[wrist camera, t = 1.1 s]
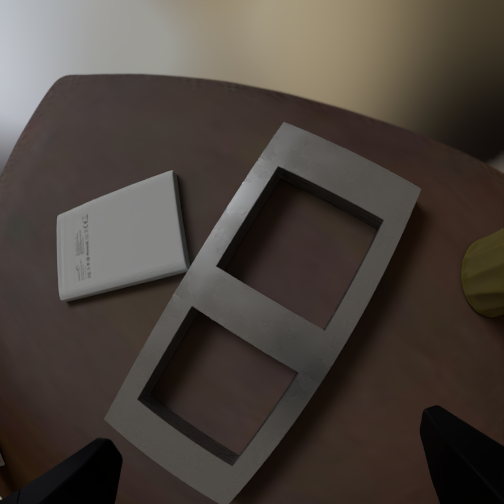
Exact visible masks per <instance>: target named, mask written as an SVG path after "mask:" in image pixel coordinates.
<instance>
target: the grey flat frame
mask: <svg viewBox="0 0 504 504" xmlns="http://www.w3.org/2000/svg"><path fill="white" fill-rule="evenodd" d="M280 179H283V180H285V181H287V182H289V183H291V184H293V185H295V186H297V187H299V188H301V189H303V190H305V191H307V192H309V193H311V194H313V195H315V196H317V197H319V198H321V199H323V200H325V201H327V202H329V203H331V204H333V205H335V206H337V207H339V208H340V209H342V210H344V211H346V212H348V213H350V214H352V215H354V216H355V217H357V218H359V219H361V220H363V221H365V222H366V223H368V224H370V225H372V226H374V227H375V228H377V229H378V230H377V232H376V234H375V236H374V238H373V240H372V242H371V244H370V246H369V248H368V250H367V252H366V254H365V256H364V258H363V259H362V261H361V263H360V265H359V267H358V269H357V271H356V273H355V275H354V277H353V278H352V280H351V282H350V284H349V286H348V288H347V289H346V291H345V293H344V295H343V297H342V299H341V300H340V302H339V304H338V306H337V307H336V309H335V311H334V313H333V314H332V316H331V318H330V320H329V321H328V323H327V325H326V326H325V328H324V330H323V329H321V328H319V327H317V326H316V325H314V324H312V323H310V322H309V321H307V320H305V319H304V318H302V317H300V316H298V315H297V314H295V313H293V312H291V311H290V310H288V309H286V308H285V307H283V306H281V305H280V304H278V303H276V302H274V301H273V300H271V299H269V298H268V297H266V296H264V295H263V294H261V293H259V292H258V291H256V290H254V289H253V288H251V287H249V286H248V285H246V284H244V283H243V282H241V281H239V280H238V279H236V278H234V277H233V276H231V275H229V274H228V273H226V272H224V270H225V268H226V266H227V265H228V263H229V262H230V260H231V258H232V257H233V255H234V253H235V252H236V250H237V248H238V247H239V245H240V244H241V242H242V240H243V239H244V237H245V235H246V234H247V232H248V231H249V229H250V227H251V226H252V224H253V222H254V221H255V219H256V218H257V216H258V214H259V213H260V211H261V209H262V208H263V206H264V205H265V203H266V201H267V200H268V198H269V197H270V195H271V193H272V192H273V190H274V188H275V187H276V185H277V184H278V182H279V180H280ZM420 191H421V188H419V187H417V186H416V185H414V184H412V183H410V182H409V181H407V180H405V179H403V178H401V177H400V176H398V175H396V174H394V173H392V172H390V171H388V170H387V169H385V168H383V167H381V166H379V165H377V164H375V163H373V162H371V161H369V160H367V159H365V158H363V157H361V156H359V155H357V154H355V153H353V152H351V151H349V150H347V149H345V148H343V147H340V146H338V145H336V144H334V143H332V142H330V141H327V140H325V139H323V138H321V137H318V136H316V135H314V134H312V133H309V132H307V131H305V130H302V129H300V128H297V127H295V126H293V125H290V124H288V123H285V122H283V124H282V125H281V127H280V128H279V130H278V131H277V132H276V134H275V135H274V137H273V138H272V140H271V141H270V143H269V144H268V146H267V147H266V149H265V150H264V152H263V153H262V155H261V156H260V158H259V159H258V161H257V162H256V164H255V165H254V167H253V168H252V170H251V171H250V173H249V174H248V176H247V177H246V179H245V181H244V182H243V184H242V185H241V187H240V188H239V190H238V191H237V193H236V194H235V196H234V198H233V199H232V201H231V202H230V204H229V205H228V207H227V208H226V210H225V212H224V213H223V215H222V216H221V218H220V220H219V221H218V223H217V224H216V226H215V227H214V229H213V231H212V232H211V234H210V235H209V237H208V239H207V240H206V242H205V244H204V245H203V247H202V248H201V250H200V252H199V253H198V255H197V257H196V258H195V260H194V261H193V263H192V265H191V266H190V268H189V270H188V271H187V273H186V275H185V276H184V278H183V280H182V281H181V283H180V285H179V286H178V288H177V290H176V291H175V293H174V295H173V297H172V298H171V300H170V302H169V303H168V305H167V307H166V308H165V310H164V312H163V314H162V315H161V317H160V319H159V321H158V322H157V324H156V326H155V327H154V329H153V331H152V333H151V334H150V336H149V338H148V340H147V342H146V343H145V345H144V347H143V349H142V350H141V352H140V354H139V356H138V358H137V359H136V361H135V363H134V365H133V367H132V368H131V370H130V372H129V374H128V376H127V378H126V379H125V381H124V383H123V385H122V387H121V389H120V390H119V392H118V394H117V396H116V398H115V400H114V402H113V404H112V405H111V407H110V409H109V411H108V413H107V415H106V417H105V419H104V420H105V421H107V422H108V423H109V424H110V425H111V426H112V427H113V428H114V429H116V430H117V431H118V432H119V433H120V434H121V435H123V436H124V437H125V438H126V439H127V440H129V441H130V442H131V443H132V444H133V445H135V446H136V447H137V448H138V449H140V450H141V451H142V452H143V453H145V454H146V455H147V456H149V457H150V458H151V459H153V460H154V461H155V462H157V463H158V464H159V465H161V466H162V467H163V468H165V469H166V470H168V471H169V472H170V473H172V474H173V475H175V476H176V477H178V478H179V479H181V480H182V481H184V482H185V483H187V484H188V485H190V486H191V487H193V488H194V489H196V490H198V491H199V492H201V493H202V494H204V495H206V496H207V497H209V498H211V499H212V500H214V501H216V502H217V503H219V504H229V503H230V502H231V501H232V500H233V499H234V497H235V496H236V495H237V494H238V493H239V492H240V491H241V489H242V488H243V487H244V486H245V485H246V484H247V482H248V481H249V480H250V479H251V478H252V476H253V475H254V474H255V473H256V472H257V470H258V469H259V468H260V467H261V465H262V464H263V463H264V462H265V460H266V459H267V458H268V457H269V455H270V454H271V453H272V451H273V450H274V449H275V447H276V446H277V445H278V444H279V442H280V441H281V440H282V438H283V437H284V436H285V434H286V433H287V431H288V430H289V429H290V427H291V426H292V425H293V423H294V422H295V420H296V419H297V418H298V416H299V415H300V413H301V412H302V410H303V409H304V408H305V406H306V405H307V403H308V402H309V400H310V399H311V397H312V396H313V394H314V393H315V391H316V390H317V388H318V387H319V385H320V384H321V382H322V381H323V379H324V377H325V376H326V374H327V373H328V371H329V370H330V368H331V366H332V365H333V363H334V362H335V360H336V358H337V357H338V355H339V353H340V352H341V350H342V348H343V347H344V345H345V343H346V342H347V340H348V338H349V337H350V335H351V333H352V331H353V330H354V328H355V326H356V324H357V323H358V321H359V319H360V317H361V315H362V314H363V312H364V310H365V308H366V306H367V304H368V303H369V301H370V299H371V297H372V295H373V293H374V291H375V289H376V287H377V285H378V283H379V281H380V279H381V277H382V275H383V273H384V271H385V269H386V267H387V265H388V263H389V261H390V259H391V257H392V255H393V253H394V251H395V249H396V246H397V244H398V242H399V240H400V238H401V236H402V233H403V231H404V229H405V227H406V224H407V222H408V220H409V217H410V215H411V213H412V210H413V208H414V205H415V203H416V201H417V198H418V196H419V193H420ZM199 311H200V312H202V313H203V314H205V315H206V316H208V317H210V318H211V319H213V320H214V321H216V322H217V323H219V324H220V325H222V326H223V327H225V328H226V329H228V330H230V331H231V332H233V333H234V334H236V335H237V336H239V337H241V338H242V339H244V340H245V341H247V342H248V343H250V344H252V345H253V346H255V347H257V348H258V349H260V350H261V351H263V352H265V353H266V354H268V355H270V356H271V357H273V358H275V359H276V360H278V361H280V362H281V363H283V364H285V365H286V366H288V367H290V368H292V369H293V370H295V371H297V373H296V375H295V377H294V378H293V380H292V381H291V383H290V384H289V386H288V387H287V389H286V390H285V392H284V393H283V395H282V396H281V398H280V399H279V401H278V402H277V404H276V405H275V406H274V408H273V409H272V411H271V412H270V414H269V415H268V416H267V418H266V419H265V421H264V422H263V424H262V425H261V426H260V428H259V429H258V430H257V432H256V433H255V435H254V436H253V437H252V439H251V440H250V441H249V443H248V444H247V445H246V447H245V448H244V449H243V451H242V452H241V453H240V455H239V456H238V455H237V454H235V453H233V452H232V451H230V450H229V449H227V448H225V447H224V446H222V445H221V444H219V443H217V442H216V441H214V440H213V439H211V438H210V437H208V436H207V435H205V434H204V433H202V432H201V431H199V430H198V429H196V428H195V427H193V426H192V425H190V424H189V423H187V422H186V421H185V420H183V419H182V418H180V417H179V416H178V415H176V414H175V413H174V412H172V411H171V410H170V409H168V408H167V407H166V406H164V405H163V404H162V403H160V402H159V401H158V400H156V399H155V398H154V397H152V396H151V395H150V394H151V392H152V390H153V389H154V387H155V385H156V383H157V382H158V380H159V378H160V377H161V375H162V373H163V372H164V370H165V368H166V366H167V365H168V363H169V361H170V360H171V358H172V356H173V355H174V353H175V351H176V350H177V348H178V346H179V345H180V343H181V341H182V340H183V338H184V336H185V334H186V333H187V331H188V329H189V328H190V326H191V324H192V323H193V321H194V319H195V318H196V316H197V314H198V313H199Z"/></svg>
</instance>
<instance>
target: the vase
mask: <svg viewBox="0 0 504 504" xmlns="http://www.w3.org/2000/svg"><path fill="white" fill-rule="evenodd" d="M461 282H462V287H463V291H464V294H465V297H466V299H467V301H468V302H469V304H470V305H471V306H472V308H473V309H474V310H475V311H477V312H478V313H480V314H482V315H484V316H487V317H491V318H492V317H497V316H500V315H504V228H503V229H501V230H499V231H497V232H496V233H493V234H491V235H490V236H487V237H483V238H481V239H478V240H477V241H475V242H474V243H473V244H472V245H471V246H470V247H469V248H468V250H467V252H466V254H465V256H464V258H463V262H462V269H461Z"/></svg>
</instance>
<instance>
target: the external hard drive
mask: <svg viewBox="0 0 504 504" xmlns="http://www.w3.org/2000/svg"><path fill="white" fill-rule="evenodd" d="M57 266H58V284H59V295H60V299H61V301H66V302H68V301H72V300H76V299H80V298H84V297H88V296H92V295H96V294H101V293H105V292H109V291H113V290H117V289H121V288H125V287H129V286H133V285H137V284H141V283H145V282H149V281H153V280H157V279H160V278H165V277H169V276H173V275H176V274H180V273H184V272H187V271H188V270H189V268H190V262H189V256H188V250H187V244H186V238H185V231H184V225H183V218H182V211H181V204H180V197H179V189H178V181H177V174H176V173H175V172H174V171H173V170H171V171H169V172H166V173H163V174H160V175H157V176H154V177H152V178H149V179H146V180H143V181H141V182H138V183H135V184H133V185H130V186H127V187H125V188H122V189H120V190H117V191H115V192H112V193H110V194H107V195H105V196H102V197H100V198H97V199H95V200H93V201H90V202H88V203H85V204H83V205H81V206H79V207H76V208H74V209H72V210H69V211H67V212H65V213H63V214H60V215H58V217H57Z"/></svg>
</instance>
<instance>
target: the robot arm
mask: <svg viewBox="0 0 504 504" xmlns="http://www.w3.org/2000/svg"><path fill="white" fill-rule="evenodd" d="M420 436H421V440H422V444H423V447H424V451H425V455H426V459H427V463H428V467H429V471H430V475H431V479H432V482H433V485H434V488H435V490H436V493H437V496H438V499H439V501H440V504H504V446H503V445H501V444H499V443H498V442H496V441H495V440H493V439H491V438H490V437H488V436H486V435H485V434H483V433H482V432H480V431H478V430H477V429H475V428H474V427H472V426H470V425H469V424H467V423H466V422H464V421H463V420H461V419H459V418H458V417H456V416H455V415H453V414H452V413H450V412H448V411H447V410H445V409H444V408H442V407H441V406H438V405H435V406H432V407H429V408H426V409H424V411H423V414H422V420H421V425H420ZM122 461H123V460H122V455H121V454H120V452H119V451H118V449H117V448H116V446H115V445H114V443H113V442H112V441H111V440H110V439H107V438H97V439H95V440H94V441H92V442H91V443H90V444H88V445H87V446H85V447H84V448H82V449H81V450H79V451H78V452H76V453H75V454H73V455H72V456H70V457H69V458H67V459H66V460H64V461H63V462H61V463H60V464H58V465H57V466H55V467H54V468H52V469H51V470H49V471H48V472H46V473H44V474H43V475H41V476H40V477H38V478H37V479H35V480H33V481H32V482H30V483H29V484H27V485H25V486H24V487H22V488H21V489H19V490H17V491H16V492H14V493H12V494H11V495H9V496H7V497H5V498H3V499H2V500H0V504H114V503H115V500H116V495H117V489H118V484H119V478H120V472H121V467H122Z"/></svg>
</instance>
